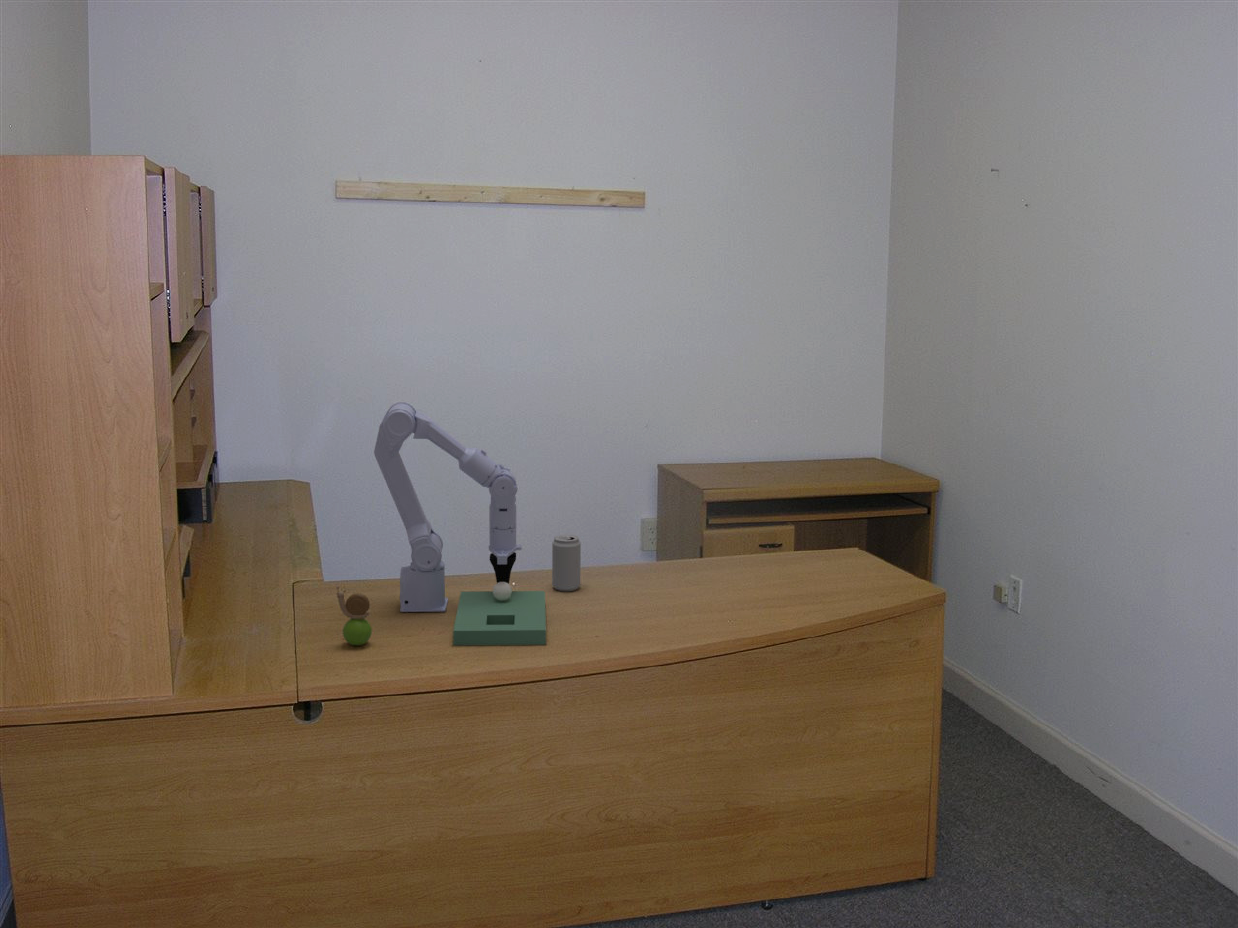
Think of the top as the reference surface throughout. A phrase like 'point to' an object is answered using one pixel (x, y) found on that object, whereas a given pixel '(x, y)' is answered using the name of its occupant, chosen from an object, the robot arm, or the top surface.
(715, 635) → the top surface
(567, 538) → the beverage can
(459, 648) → the top surface
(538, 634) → the putting board
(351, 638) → the snail figurine
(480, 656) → the top surface
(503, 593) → the ball
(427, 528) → the robot arm
